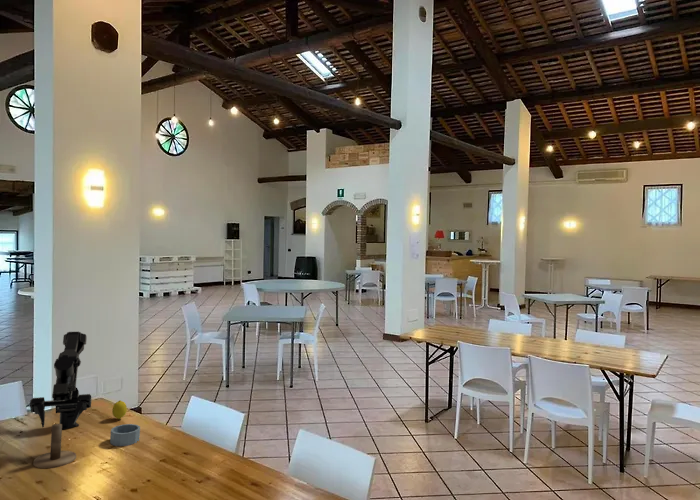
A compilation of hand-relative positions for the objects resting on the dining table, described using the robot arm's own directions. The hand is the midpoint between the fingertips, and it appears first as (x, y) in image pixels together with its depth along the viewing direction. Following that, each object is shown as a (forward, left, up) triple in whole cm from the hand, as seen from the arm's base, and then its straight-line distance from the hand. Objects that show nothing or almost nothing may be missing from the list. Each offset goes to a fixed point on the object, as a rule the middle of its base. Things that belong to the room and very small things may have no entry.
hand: (58, 425), depth 164 cm
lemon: (-21, +31, -11) cm, 39 cm away
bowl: (+3, +22, -11) cm, 25 cm away
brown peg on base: (+3, -2, -11) cm, 11 cm away
